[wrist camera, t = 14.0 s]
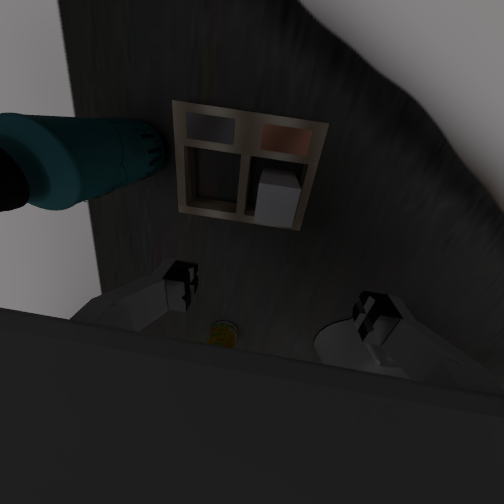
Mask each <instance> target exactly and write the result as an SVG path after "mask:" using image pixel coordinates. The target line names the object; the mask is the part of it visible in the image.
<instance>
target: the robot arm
mask: <svg viewBox="0 0 504 504" xmlns="http://www.w3.org/2000/svg"><path fill="white" fill-rule="evenodd" d="M197 271H198V264H197V263H194V262H188V261H183V260H177V259H171V258H166V259H165V260H164V261H163V262H162V263H161V264H160V266H159V267H158V268H157V269H156V270H155V271H154V273H153V274H152V275H151V276H150V277H144V278H142V279H139V280H137V281H135V282H132V283H130V284H127V285H125V286H122V287H120V288H117V289H115V290H112V291H110V292H107V293H105V294H102V295H100V296H98V297H95V298H93V299H91V300H90V301H89V302H88V303H87V304H86V305H85V306H83V307H82V308H81V309H80V310H79V311H78V312H77V313H76V314H75V315H74V316H73V317H72V318H70V319H69V320H68V319H63V318H57V317H51V316H45V315H39V314H34V313H28V312H22V311H17V310H11V309H5V308H0V504H504V390H503V389H502V388H501V386H500V385H499V384H498V383H497V382H496V381H495V379H494V378H493V377H492V376H491V375H490V373H489V372H488V371H487V370H486V369H485V368H484V366H482V365H481V364H479V363H478V362H477V361H475V360H474V359H472V358H471V357H469V356H468V355H466V354H465V353H464V352H462V351H461V350H459V349H458V348H456V347H455V346H454V345H452V344H451V343H449V342H448V341H446V340H445V339H443V338H442V337H441V336H439V335H438V334H436V333H435V332H433V331H432V330H431V329H429V328H428V327H426V326H425V325H423V324H422V323H420V322H417V321H416V320H415V319H414V317H413V316H412V314H411V313H410V312H409V310H408V309H407V307H406V306H405V305H404V303H403V302H402V300H401V299H400V298H399V297H398V296H397V295H391V294H382V293H375V292H369V291H363V292H362V293H361V294H360V296H359V298H360V301H359V302H357V303H355V305H354V308H353V318H352V319H349V320H345V321H341V322H338V323H335V324H332V325H330V326H328V327H326V328H325V329H323V330H322V331H321V332H320V333H319V334H318V335H317V337H316V338H315V341H314V348H315V351H316V353H317V354H318V356H319V358H320V361H321V363H322V364H320V363H314V362H309V361H303V360H297V359H292V358H286V357H280V356H274V355H269V354H263V353H257V352H251V351H246V350H240V349H234V348H229V347H223V346H217V345H211V344H206V343H200V342H194V341H188V340H183V339H177V338H171V337H166V336H160V335H154V334H148V333H143V332H138V331H140V330H141V329H143V328H144V327H146V326H147V325H148V324H150V323H151V322H153V321H154V320H155V319H157V318H158V317H160V316H161V315H163V314H164V313H165V312H167V311H168V310H175V311H182V312H186V311H187V309H188V307H189V305H190V303H191V297H192V296H194V295H195V293H196V290H197V287H198V276H197V275H196V273H197Z"/></svg>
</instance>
